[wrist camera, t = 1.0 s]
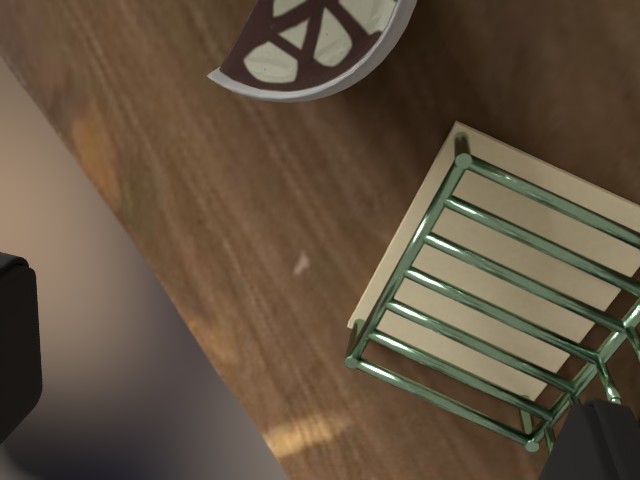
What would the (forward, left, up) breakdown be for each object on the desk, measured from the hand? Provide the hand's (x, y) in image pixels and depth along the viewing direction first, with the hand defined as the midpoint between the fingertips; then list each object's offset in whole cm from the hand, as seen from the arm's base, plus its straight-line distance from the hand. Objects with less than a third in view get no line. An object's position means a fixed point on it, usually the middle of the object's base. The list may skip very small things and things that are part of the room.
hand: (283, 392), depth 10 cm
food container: (-4, +4, -28) cm, 29 cm away
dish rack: (+11, -8, -28) cm, 31 cm away
